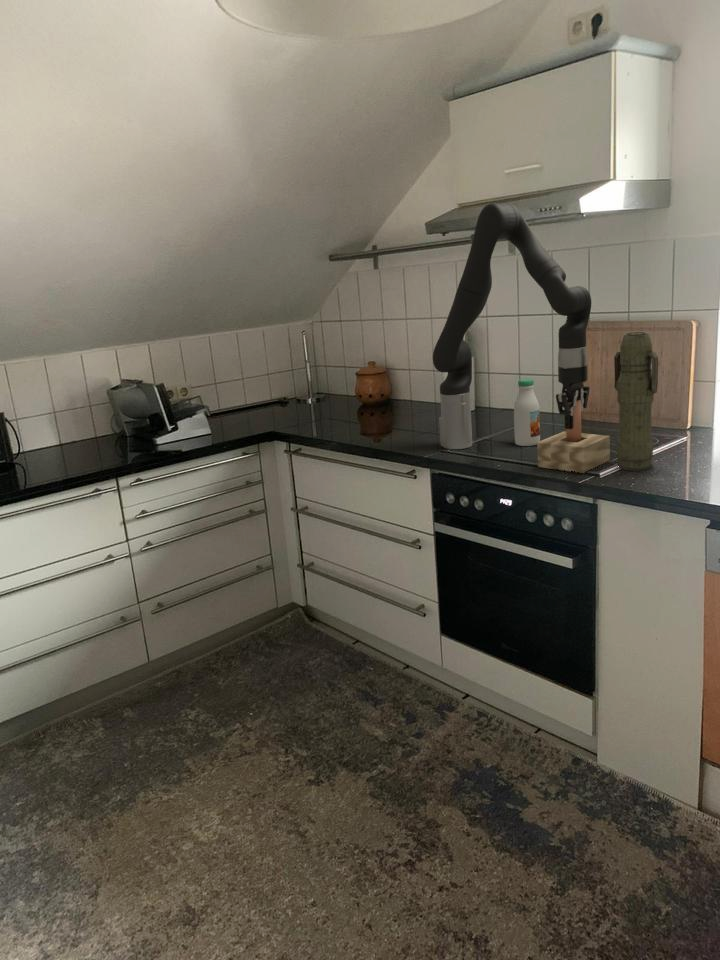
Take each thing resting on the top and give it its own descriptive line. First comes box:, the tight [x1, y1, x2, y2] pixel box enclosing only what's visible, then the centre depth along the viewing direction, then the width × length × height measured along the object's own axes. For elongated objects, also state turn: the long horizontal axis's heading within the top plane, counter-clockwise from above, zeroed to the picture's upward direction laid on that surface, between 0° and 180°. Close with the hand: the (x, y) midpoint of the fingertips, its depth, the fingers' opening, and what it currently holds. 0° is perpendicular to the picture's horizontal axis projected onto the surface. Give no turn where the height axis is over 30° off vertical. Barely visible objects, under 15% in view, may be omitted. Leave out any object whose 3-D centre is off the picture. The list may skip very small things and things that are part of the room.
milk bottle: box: [513, 378, 541, 447], centre depth 229 cm, size 8×8×20 cm
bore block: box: [536, 430, 611, 474], centre depth 204 cm, size 14×14×7 cm
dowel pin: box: [565, 400, 582, 442], centre depth 202 cm, size 4×4×11 cm
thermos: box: [613, 331, 659, 472], centre depth 193 cm, size 9×12×35 cm
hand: (573, 426), depth 202 cm, fingers closed on dowel pin, 4 cm apart
